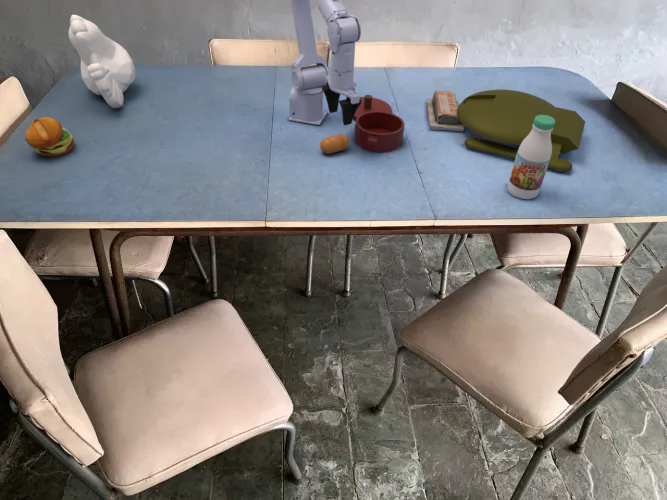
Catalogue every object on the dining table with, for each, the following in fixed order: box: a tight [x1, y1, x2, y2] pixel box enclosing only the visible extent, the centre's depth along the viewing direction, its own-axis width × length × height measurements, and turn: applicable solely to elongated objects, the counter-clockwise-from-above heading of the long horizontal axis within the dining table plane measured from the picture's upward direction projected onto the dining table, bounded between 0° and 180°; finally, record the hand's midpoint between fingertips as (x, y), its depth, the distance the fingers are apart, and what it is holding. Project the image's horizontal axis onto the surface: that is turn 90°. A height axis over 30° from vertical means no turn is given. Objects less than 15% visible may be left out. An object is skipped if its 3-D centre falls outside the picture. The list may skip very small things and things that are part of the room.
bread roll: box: [319, 133, 350, 155], centre depth 148 cm, size 8×4×4 cm, turn 119°
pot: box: [353, 109, 406, 153], centre depth 153 cm, size 13×19×5 cm
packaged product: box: [426, 90, 465, 133], centre depth 165 cm, size 18×5×10 cm
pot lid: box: [353, 94, 392, 119], centre depth 166 cm, size 14×14×5 cm
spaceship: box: [457, 89, 586, 173], centre depth 156 cm, size 35×31×10 cm
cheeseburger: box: [24, 116, 74, 157], centre depth 142 cm, size 10×11×10 cm
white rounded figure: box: [68, 14, 136, 109], centre depth 160 cm, size 25×16×25 cm
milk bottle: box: [507, 115, 555, 200], centre depth 131 cm, size 8×8×20 cm
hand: (340, 117), depth 146 cm, fingers open, 7 cm apart
